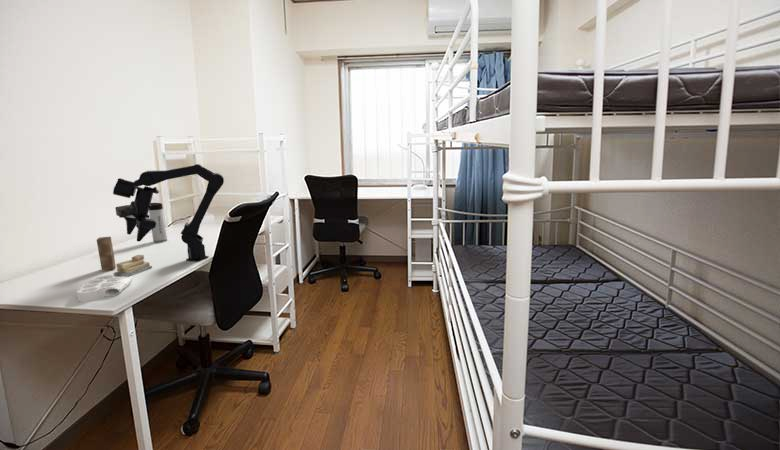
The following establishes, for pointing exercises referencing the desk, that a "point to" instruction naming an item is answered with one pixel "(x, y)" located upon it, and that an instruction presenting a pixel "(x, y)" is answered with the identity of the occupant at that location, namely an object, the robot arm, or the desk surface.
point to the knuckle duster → (102, 287)
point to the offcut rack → (132, 266)
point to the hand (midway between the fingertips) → (133, 237)
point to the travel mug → (158, 222)
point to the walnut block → (106, 253)
